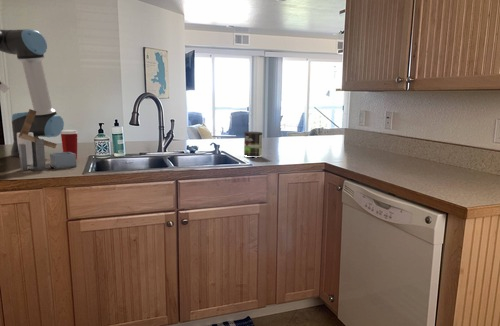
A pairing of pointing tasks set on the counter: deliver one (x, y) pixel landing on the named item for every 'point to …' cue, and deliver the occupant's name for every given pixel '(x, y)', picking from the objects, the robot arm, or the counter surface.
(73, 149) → the coffee cup
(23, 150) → the post
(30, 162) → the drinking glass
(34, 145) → the pivot stand
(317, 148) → the counter surface
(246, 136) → the coffee can
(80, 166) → the counter surface
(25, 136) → the lever
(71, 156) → the grey rounded block
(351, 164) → the counter surface
